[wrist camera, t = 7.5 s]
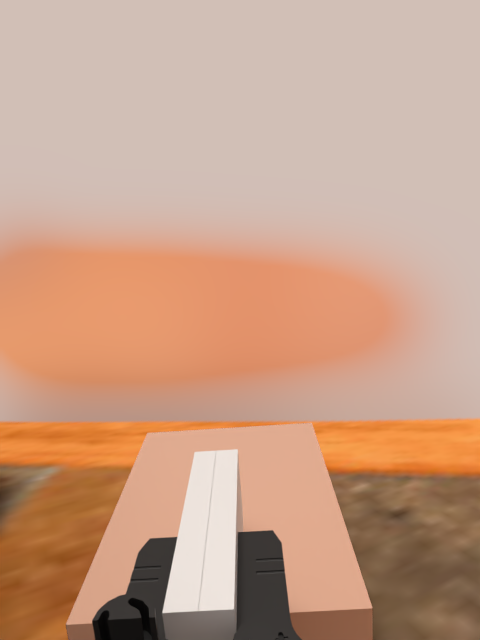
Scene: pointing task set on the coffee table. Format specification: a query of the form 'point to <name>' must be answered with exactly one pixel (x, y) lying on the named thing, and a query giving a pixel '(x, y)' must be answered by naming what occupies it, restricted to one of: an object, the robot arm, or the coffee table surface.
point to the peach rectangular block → (258, 515)
